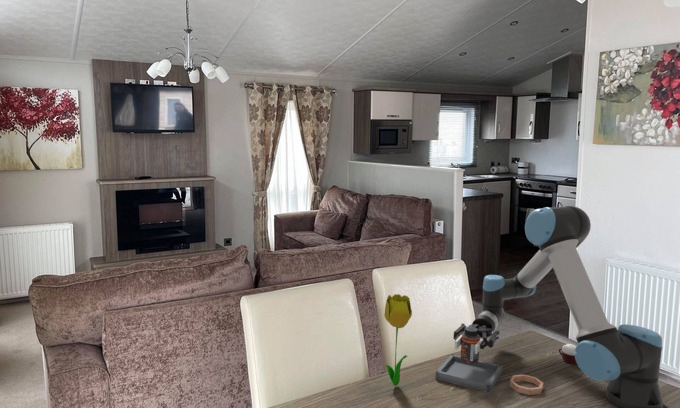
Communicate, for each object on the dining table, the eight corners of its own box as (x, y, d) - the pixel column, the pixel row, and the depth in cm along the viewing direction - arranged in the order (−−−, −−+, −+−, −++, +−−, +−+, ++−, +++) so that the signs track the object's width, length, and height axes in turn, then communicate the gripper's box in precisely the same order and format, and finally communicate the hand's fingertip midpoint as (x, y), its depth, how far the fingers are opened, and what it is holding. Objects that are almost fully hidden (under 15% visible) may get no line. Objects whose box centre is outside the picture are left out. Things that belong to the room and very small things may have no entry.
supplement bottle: (456, 358, 175) (458, 326, 174) (470, 355, 178) (472, 324, 176) (468, 366, 170) (469, 333, 168) (482, 362, 172) (484, 330, 171)
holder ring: (544, 384, 169) (545, 379, 168) (539, 397, 160) (539, 392, 160) (514, 377, 173) (514, 372, 173) (507, 389, 165) (508, 384, 165)
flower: (378, 389, 164) (380, 298, 160) (388, 378, 172) (390, 291, 167) (403, 395, 160) (406, 302, 156) (412, 384, 168) (415, 295, 163)
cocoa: (555, 358, 189) (556, 326, 188) (570, 356, 191) (571, 324, 190) (572, 368, 180) (573, 335, 179) (588, 366, 182) (589, 333, 180)
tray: (502, 372, 176) (502, 365, 176) (490, 392, 163) (490, 385, 162) (451, 360, 185) (451, 354, 185) (435, 378, 172) (435, 371, 171)
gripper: (510, 340, 184) (494, 365, 164) (458, 329, 193) (437, 351, 174) (512, 320, 183) (495, 343, 163) (459, 310, 192) (438, 330, 172)
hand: (465, 347), depth 168 cm, fingers closed on supplement bottle, 6 cm apart
